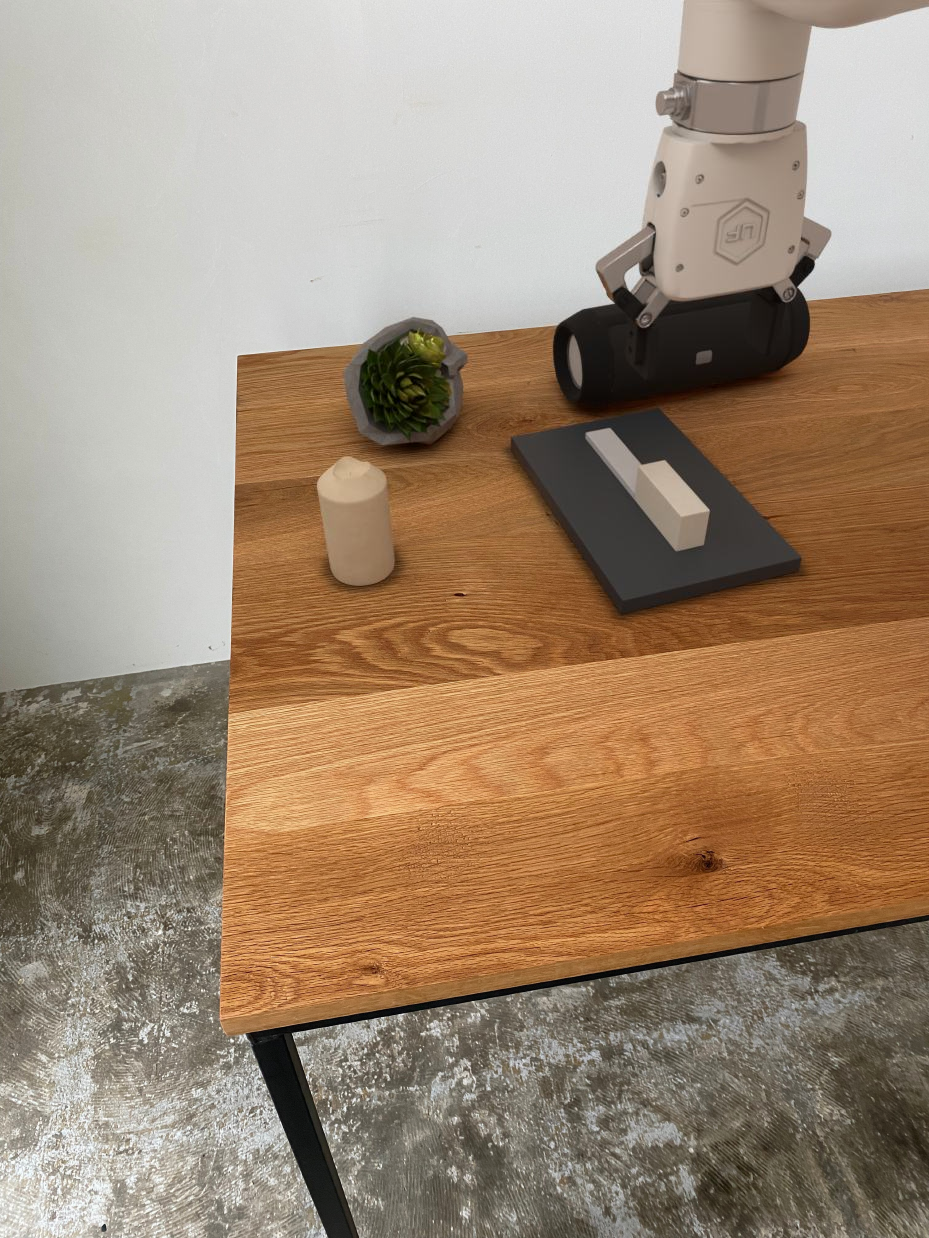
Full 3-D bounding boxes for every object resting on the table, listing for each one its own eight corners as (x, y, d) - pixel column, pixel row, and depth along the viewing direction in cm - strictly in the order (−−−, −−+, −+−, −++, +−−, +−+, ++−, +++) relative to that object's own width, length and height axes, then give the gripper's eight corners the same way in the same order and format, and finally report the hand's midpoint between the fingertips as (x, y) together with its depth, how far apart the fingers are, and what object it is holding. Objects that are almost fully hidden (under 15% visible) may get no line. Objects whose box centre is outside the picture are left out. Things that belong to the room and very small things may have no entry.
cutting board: (657, 420, 96) (659, 407, 95) (798, 571, 77) (802, 557, 76) (510, 450, 93) (510, 436, 92) (621, 614, 74) (622, 600, 73)
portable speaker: (584, 429, 95) (589, 337, 88) (547, 385, 102) (550, 296, 95) (803, 385, 100) (824, 294, 94) (754, 346, 107) (771, 259, 101)
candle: (324, 554, 81) (308, 455, 74) (386, 540, 82) (375, 442, 75) (338, 592, 77) (321, 492, 70) (402, 578, 78) (392, 478, 72)
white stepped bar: (704, 545, 78) (710, 510, 76) (675, 552, 77) (681, 516, 75) (609, 433, 91) (612, 400, 89) (585, 438, 91) (587, 405, 89)
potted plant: (477, 362, 99) (518, 391, 86) (399, 454, 101) (426, 496, 88) (392, 282, 94) (422, 300, 81) (311, 381, 96) (327, 414, 83)
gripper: (633, 134, 54) (614, 404, 65) (893, 99, 57) (832, 361, 68) (582, 105, 59) (573, 358, 70) (823, 75, 62) (777, 321, 74)
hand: (701, 359), depth 69 cm, fingers open, 9 cm apart
